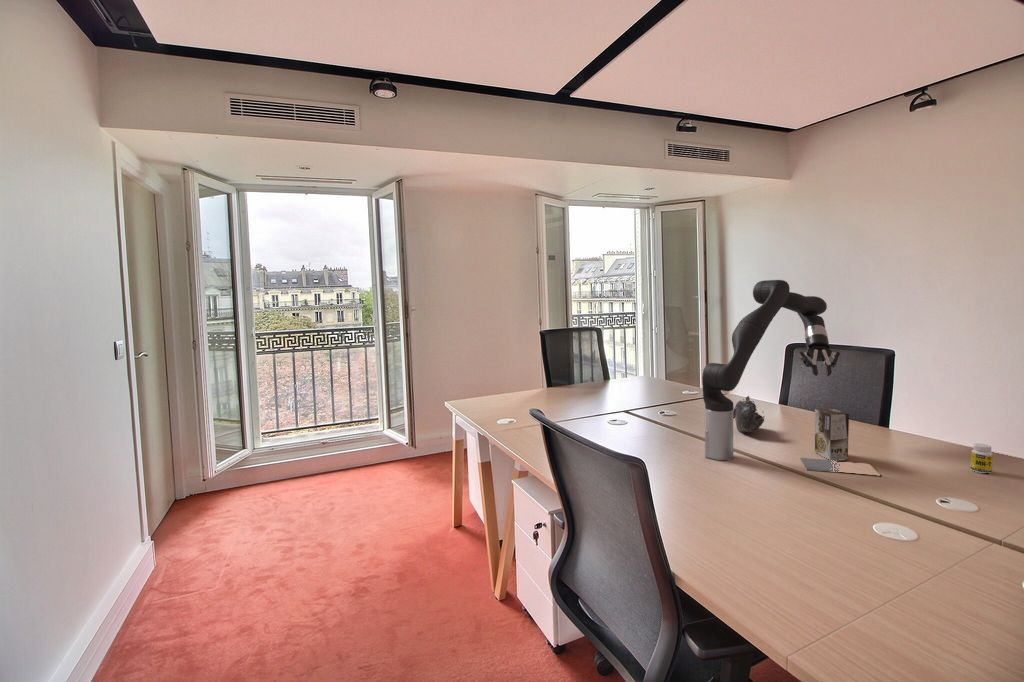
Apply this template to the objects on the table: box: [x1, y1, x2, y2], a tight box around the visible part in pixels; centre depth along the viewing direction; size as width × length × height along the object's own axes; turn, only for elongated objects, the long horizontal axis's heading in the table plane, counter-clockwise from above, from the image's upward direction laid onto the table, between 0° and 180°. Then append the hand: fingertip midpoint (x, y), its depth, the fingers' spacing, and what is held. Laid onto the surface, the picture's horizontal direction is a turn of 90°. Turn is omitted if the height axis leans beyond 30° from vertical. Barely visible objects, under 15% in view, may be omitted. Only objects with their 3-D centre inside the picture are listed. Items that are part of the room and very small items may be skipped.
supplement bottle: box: [969, 442, 993, 474], centre depth 151 cm, size 5×5×8 cm
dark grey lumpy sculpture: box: [733, 395, 766, 433], centre depth 200 cm, size 14×15×20 cm
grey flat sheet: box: [800, 457, 840, 472], centre depth 160 cm, size 20×12×1 cm, turn 68°
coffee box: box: [814, 407, 850, 461], centre depth 169 cm, size 9×6×16 cm
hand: (822, 374), depth 182 cm, fingers open, 3 cm apart
